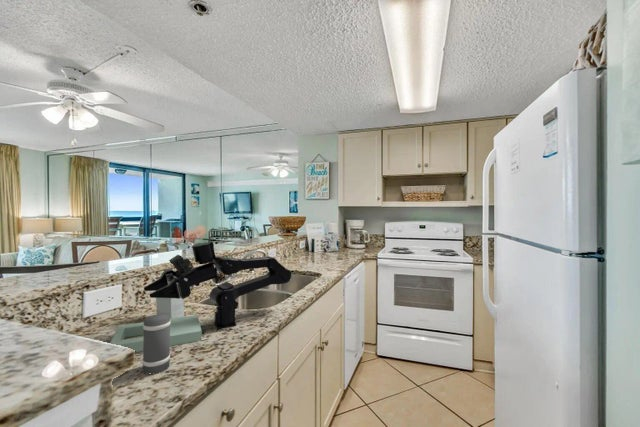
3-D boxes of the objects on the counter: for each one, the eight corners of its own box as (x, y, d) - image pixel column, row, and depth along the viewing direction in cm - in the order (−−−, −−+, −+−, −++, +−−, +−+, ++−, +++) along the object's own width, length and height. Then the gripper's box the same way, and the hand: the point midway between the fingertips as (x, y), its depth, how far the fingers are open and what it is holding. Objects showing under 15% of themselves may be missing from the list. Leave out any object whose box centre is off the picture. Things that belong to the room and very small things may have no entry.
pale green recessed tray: (197, 322, 104) (197, 314, 104) (201, 340, 90) (201, 330, 90) (117, 335, 93) (118, 325, 93) (108, 357, 79) (108, 346, 79)
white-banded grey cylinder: (169, 359, 78) (170, 312, 78) (169, 370, 73) (170, 320, 73) (143, 365, 75) (144, 316, 75) (141, 377, 70) (142, 324, 70)
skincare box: (184, 317, 109) (184, 279, 109) (170, 323, 104) (170, 282, 104) (168, 314, 113) (169, 276, 113) (154, 319, 107) (155, 280, 107)
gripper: (185, 249, 103) (135, 263, 93) (202, 255, 89) (146, 272, 79) (191, 278, 104) (143, 295, 94) (210, 289, 90) (155, 310, 80)
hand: (146, 292), depth 87 cm, fingers open, 9 cm apart
